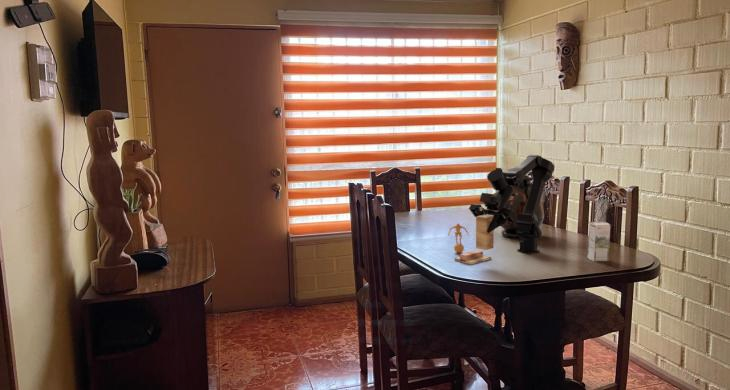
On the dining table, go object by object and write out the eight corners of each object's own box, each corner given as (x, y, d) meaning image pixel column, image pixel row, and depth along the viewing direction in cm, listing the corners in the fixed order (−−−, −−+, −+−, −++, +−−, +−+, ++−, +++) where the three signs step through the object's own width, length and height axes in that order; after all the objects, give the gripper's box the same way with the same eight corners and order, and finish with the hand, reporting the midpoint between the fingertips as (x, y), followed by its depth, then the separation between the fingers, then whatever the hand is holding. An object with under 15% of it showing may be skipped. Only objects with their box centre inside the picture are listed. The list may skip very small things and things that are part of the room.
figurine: (449, 254, 219) (449, 225, 218) (447, 250, 225) (447, 222, 224) (470, 253, 219) (470, 224, 218) (467, 250, 225) (467, 222, 224)
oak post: (483, 246, 203) (483, 214, 202) (493, 248, 200) (493, 216, 198) (476, 248, 200) (476, 216, 199) (485, 250, 197) (485, 217, 195)
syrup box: (601, 258, 209) (603, 221, 207) (609, 261, 203) (610, 223, 201) (587, 258, 209) (588, 221, 207) (594, 262, 203) (595, 224, 201)
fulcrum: (475, 255, 216) (475, 248, 216) (491, 259, 210) (491, 251, 210) (454, 260, 209) (454, 253, 208) (470, 264, 203) (470, 256, 202)
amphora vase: (553, 238, 246) (555, 177, 243) (514, 242, 238) (515, 179, 235) (523, 230, 266) (524, 173, 262) (486, 233, 258) (487, 175, 255)
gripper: (472, 182, 207) (452, 214, 201) (513, 186, 192) (493, 221, 187) (485, 200, 213) (466, 232, 207) (525, 205, 198) (507, 240, 193)
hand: (482, 231), depth 198 cm, fingers closed on oak post, 4 cm apart
